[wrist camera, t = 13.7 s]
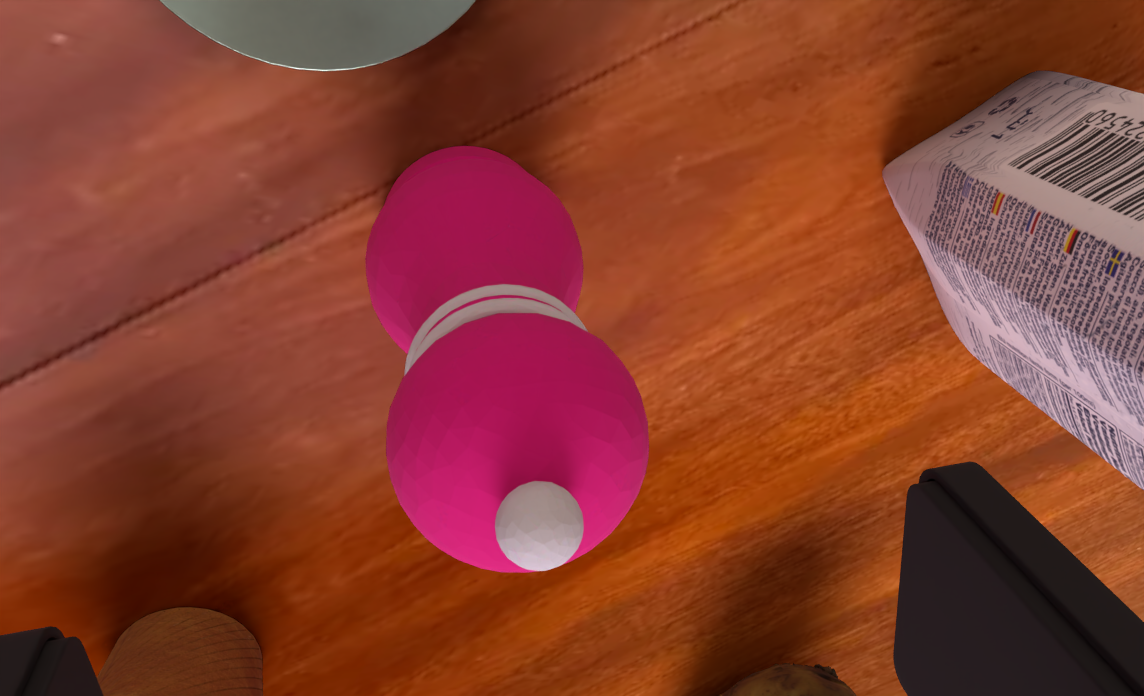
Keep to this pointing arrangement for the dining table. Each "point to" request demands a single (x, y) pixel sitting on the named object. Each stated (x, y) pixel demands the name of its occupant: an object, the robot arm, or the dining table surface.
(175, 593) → the dining table surface
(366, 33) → the lid
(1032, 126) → the juice carton
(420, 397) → the pepper mill
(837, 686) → the potato
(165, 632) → the disposable coffee cup
